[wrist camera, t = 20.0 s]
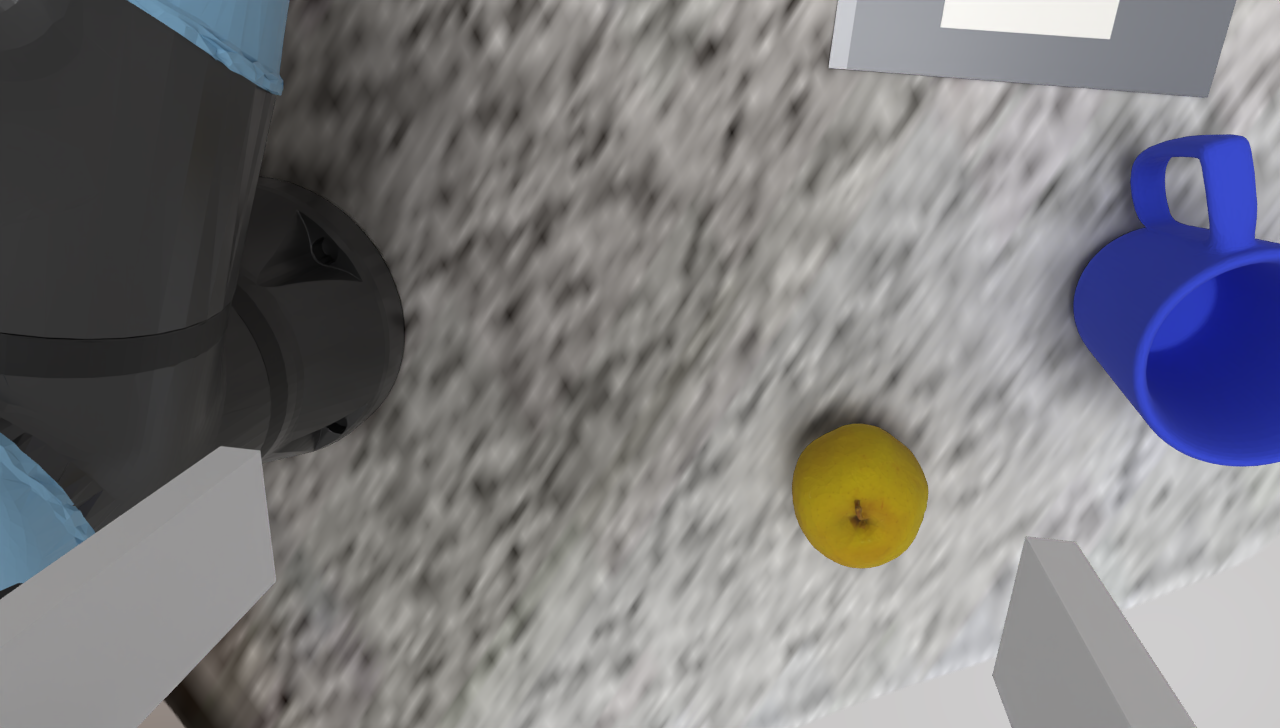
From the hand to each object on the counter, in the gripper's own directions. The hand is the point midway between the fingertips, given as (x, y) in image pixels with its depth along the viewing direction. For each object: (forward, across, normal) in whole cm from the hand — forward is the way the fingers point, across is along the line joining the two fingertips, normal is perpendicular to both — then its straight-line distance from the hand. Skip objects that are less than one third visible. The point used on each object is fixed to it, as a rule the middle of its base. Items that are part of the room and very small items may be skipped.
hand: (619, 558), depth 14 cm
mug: (+28, -20, -1) cm, 35 cm away
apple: (+29, -8, +11) cm, 32 cm away
